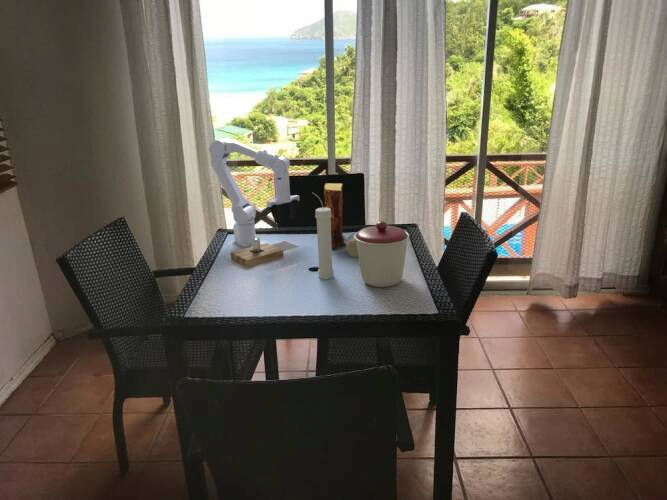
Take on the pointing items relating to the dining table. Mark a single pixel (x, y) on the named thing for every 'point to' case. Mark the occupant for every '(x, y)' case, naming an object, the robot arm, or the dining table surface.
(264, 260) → the block
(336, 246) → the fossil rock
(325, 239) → the white tall cylinder
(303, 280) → the dining table surface
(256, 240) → the peg
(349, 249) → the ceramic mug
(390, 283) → the canister
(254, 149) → the robot arm
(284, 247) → the mat
